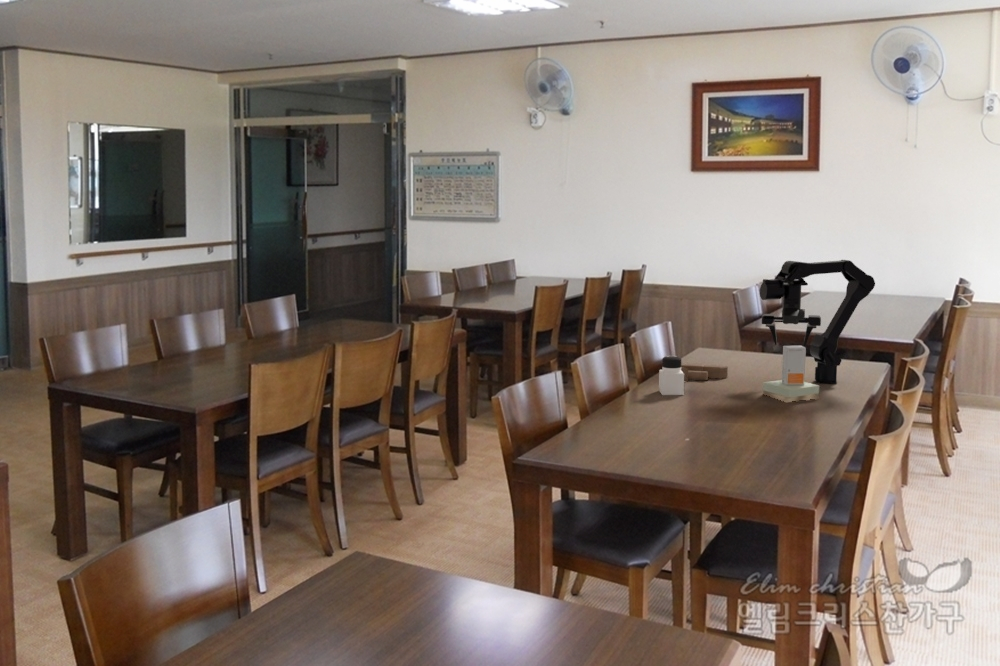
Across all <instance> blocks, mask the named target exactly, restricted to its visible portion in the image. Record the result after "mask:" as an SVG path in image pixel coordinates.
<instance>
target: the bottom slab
mask: <svg viewBox="0 0 1000 666" xmlns="http://www.w3.org/2000/svg"><path fill="white" fill-rule="evenodd" d="M763 394H764V395H763ZM762 395H763V396H766V395H767V396H766V397H769V396H770V397H769V398H772V399H774V398H775V399H774V400H777V399H778V401H780V400H781V402H783V401H784V403H793V402H792V401H796V402H800V401H799V400H806V401H811V400H810V399H815V400H819V398H820V397H819V396H820V393H819V394H811V395H804V396H796V397H786V396H782V395H779V394H775V393H772V392H768V391H765V390H763V389H762Z"/></svg>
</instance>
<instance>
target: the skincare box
mask: <svg viewBox="0 0 1000 666" xmlns="http://www.w3.org/2000/svg"><path fill="white" fill-rule="evenodd" d="M806 349H807V347H806V346H804V345H783V346H782V361H781V363H782V364H781V366H782V367H781V369H782V370H781V380H782V383H783V384H785V385H804V382H805V378H806V377H805V374H806V355H807V354H806V353H807V350H806Z"/></svg>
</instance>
